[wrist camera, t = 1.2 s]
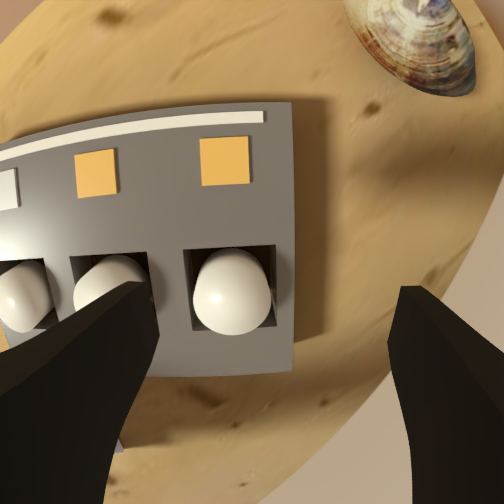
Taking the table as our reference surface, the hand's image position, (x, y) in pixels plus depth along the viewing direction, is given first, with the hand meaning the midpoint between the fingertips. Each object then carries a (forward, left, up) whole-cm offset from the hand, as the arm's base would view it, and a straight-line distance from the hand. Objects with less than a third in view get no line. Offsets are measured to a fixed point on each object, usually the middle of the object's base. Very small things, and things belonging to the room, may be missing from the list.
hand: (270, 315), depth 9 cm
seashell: (+12, -10, -12) cm, 20 cm away
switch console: (-1, +8, -12) cm, 14 cm away
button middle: (-3, +8, -10) cm, 13 cm away
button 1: (-3, +1, -10) cm, 11 cm away
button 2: (-3, +15, -10) cm, 18 cm away
